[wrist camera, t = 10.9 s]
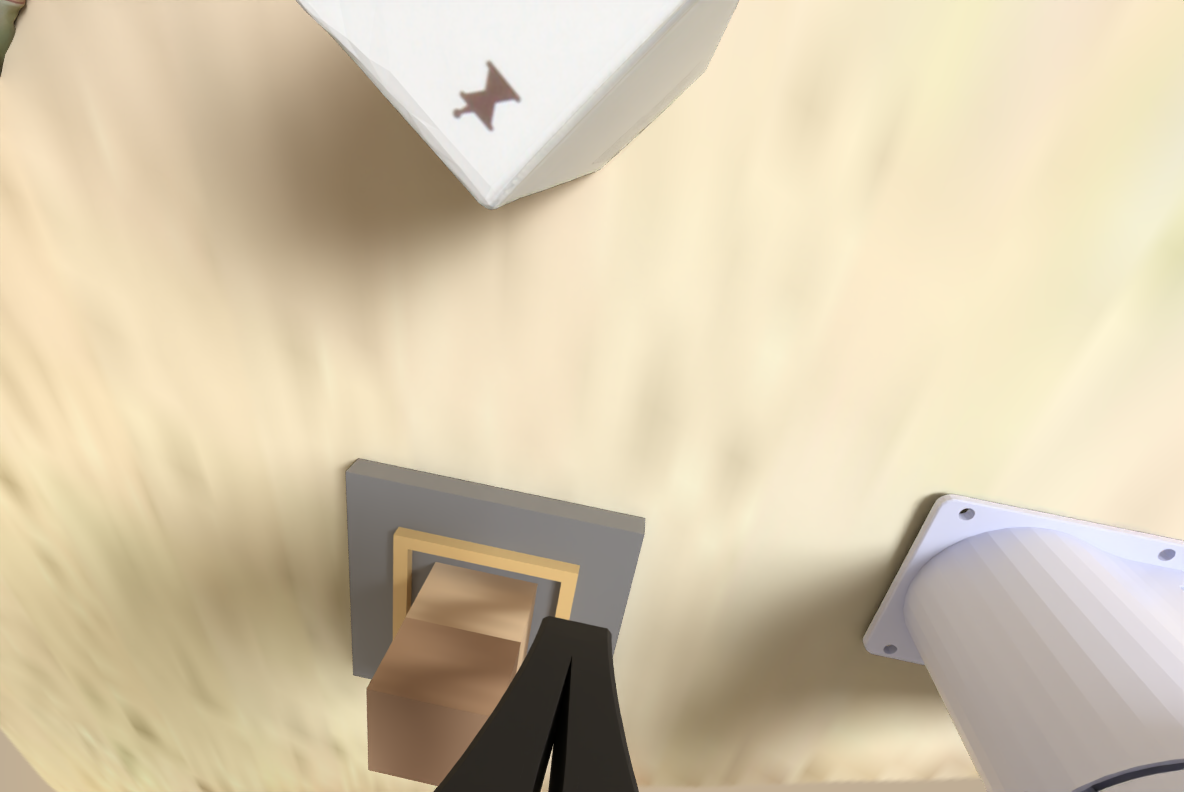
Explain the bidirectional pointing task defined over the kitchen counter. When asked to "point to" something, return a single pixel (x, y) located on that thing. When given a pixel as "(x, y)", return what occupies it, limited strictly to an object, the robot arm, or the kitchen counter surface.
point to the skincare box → (526, 77)
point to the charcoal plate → (478, 550)
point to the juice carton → (8, 24)
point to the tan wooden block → (446, 670)
